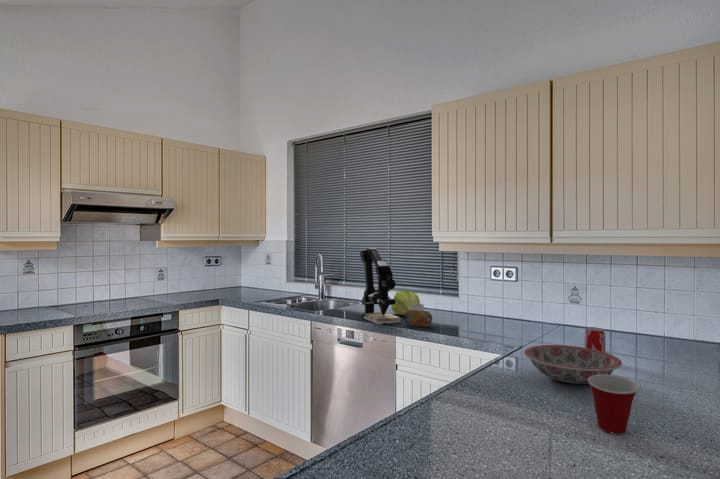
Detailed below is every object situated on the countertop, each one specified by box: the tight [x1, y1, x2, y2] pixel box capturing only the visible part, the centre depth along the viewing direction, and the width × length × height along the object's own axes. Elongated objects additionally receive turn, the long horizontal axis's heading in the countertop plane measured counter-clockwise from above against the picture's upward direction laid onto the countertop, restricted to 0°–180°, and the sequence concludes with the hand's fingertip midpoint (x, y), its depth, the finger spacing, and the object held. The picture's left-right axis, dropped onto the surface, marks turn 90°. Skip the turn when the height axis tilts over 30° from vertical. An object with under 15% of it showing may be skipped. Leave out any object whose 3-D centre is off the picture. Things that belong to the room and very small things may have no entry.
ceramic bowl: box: [523, 344, 623, 385], centre depth 144 cm, size 29×29×8 cm
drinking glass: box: [412, 303, 425, 311], centre depth 238 cm, size 7×7×10 cm
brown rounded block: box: [403, 310, 433, 328], centre depth 230 cm, size 15×3×8 cm, turn 62°
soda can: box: [584, 326, 606, 353], centre depth 167 cm, size 7×7×12 cm
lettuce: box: [390, 290, 421, 316], centre depth 259 cm, size 17×24×14 cm
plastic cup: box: [588, 374, 639, 434], centre depth 107 cm, size 11×11×12 cm
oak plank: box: [368, 312, 401, 322], centre depth 243 cm, size 14×13×2 cm
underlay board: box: [363, 311, 402, 325], centre depth 245 cm, size 18×14×3 cm
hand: (383, 315), depth 243 cm, fingers closed
